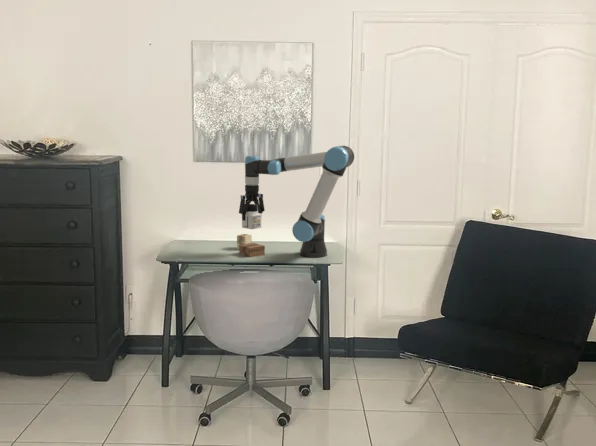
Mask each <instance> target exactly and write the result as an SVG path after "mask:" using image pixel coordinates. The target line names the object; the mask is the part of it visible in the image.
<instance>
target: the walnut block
mask: <svg viewBox="0 0 596 446" xmlns="http://www.w3.org/2000/svg"><path fill="white" fill-rule="evenodd" d="M265 249H266V248H265V245H263V244H259V243H255V242H252V243H250V244H243V245H239V249H238V251H239V252H238V253H239V255H240V256H241V255H242V256H245V257H248V258H253V257H254V256H255V257H258V256H265V253H266V252H265Z"/></svg>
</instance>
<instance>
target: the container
mask: <svg viewBox="0 0 596 446" xmlns="http://www.w3.org/2000/svg"><path fill="white" fill-rule="evenodd" d="M257 212H258V206H257V205H256V204H255V203H250V204H249V207H248V210H247V212H246V215H247V227H245V226H243V220H242V219H241V227H242V229H247V230H256V229H261V228H262V216H261V214H259V213H257Z"/></svg>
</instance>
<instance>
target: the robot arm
mask: <svg viewBox="0 0 596 446" xmlns="http://www.w3.org/2000/svg"><path fill="white" fill-rule="evenodd" d="M244 160H245V162H244V170H245V171H244V183H245V184H244V192H245V194H244V195H240V204H239V210H238V214H240V215H241V221H242V220H243V226H245V227H247V215H246V212H247V210H248V207H249V204H252V202H253V204H256V205H257V206H258V212H257V213H259V214H261V217H262V215H263V213H264V212H265V211H266V210H265V204H264V193H259V191H260V185H259V184H260V175H270V176H273V175H274V176H277V175H280V173H283V172H289V171H298V170H305V169H306V170H307V169H314V168H321V167H322V170H323V171H322V173H321V175H320V178H319V180H318V182H317V185H316V187H315V188H314V191H313V193H312V195H311V197H310V200H309V203H308V205H307V206H306V209H305V211H302V212H301V213H300V215H299V218H298V219H297V221H296V222H295V223H294V224H293V225H292V228H291V229H292V230H291V231H292V235H293V237H294V238H295V239H296V240H297V241H299V242H302V243H301V247H300V250H299V255H300V256H302V257H305V258H323V257H326V256H327V255H328V249H327V246H326V242H325V227H326V225H325V223H326V219H325V215H324V214H323V213H324V210H325V209H326V206H327V204H328V201H329V200H330V196H331V195H332V193H333V191H334V189H335V186H336V184H337V183H338V182H337V181H338V180H339V178H341V177H343V176H344V173H345V171H346V169H347V168H348V167H350V166H351V165H352V164H353V162H354V160H355V154H354V151H353V149H352V148H351V147H349V146H347V145H338V146H333V147H331V148H330V149H328V150H327V151H322V152H316V153H309V154H302V155H295V156H287V157H279V158H275V159H269V160H268V159H267V160H266V159H265V160H262V159H260V157H259V156H258V155H247V156H245V158H244Z"/></svg>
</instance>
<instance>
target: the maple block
mask: <svg viewBox="0 0 596 446" xmlns="http://www.w3.org/2000/svg"><path fill="white" fill-rule="evenodd" d="M252 241H253V238H252V234H248V233H247V234H245V233H241V234H237V235H236V250H239V245H243V244H250V243H253V242H252Z"/></svg>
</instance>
